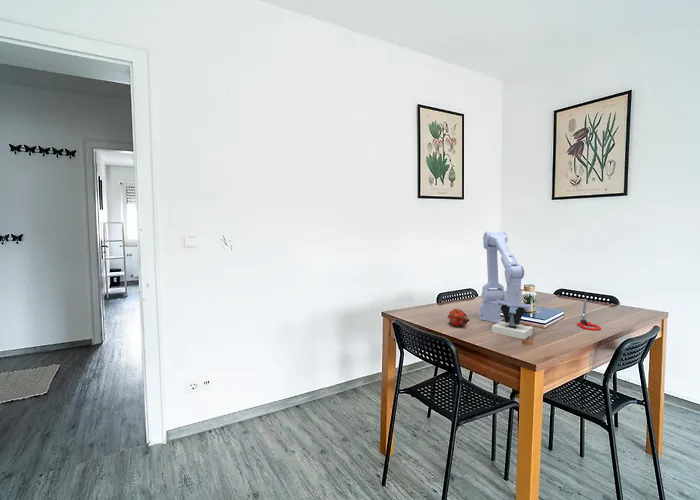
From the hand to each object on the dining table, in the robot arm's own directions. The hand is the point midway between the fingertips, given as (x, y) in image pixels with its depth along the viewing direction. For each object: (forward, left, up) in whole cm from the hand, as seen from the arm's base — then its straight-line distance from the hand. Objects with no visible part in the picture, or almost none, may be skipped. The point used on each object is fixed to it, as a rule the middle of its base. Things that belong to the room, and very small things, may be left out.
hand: (512, 323), depth 165 cm
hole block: (0, 0, -4) cm, 4 cm away
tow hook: (+23, +33, -5) cm, 41 cm away
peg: (0, 0, -4) cm, 4 cm away
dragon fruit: (-23, -5, -5) cm, 24 cm away
